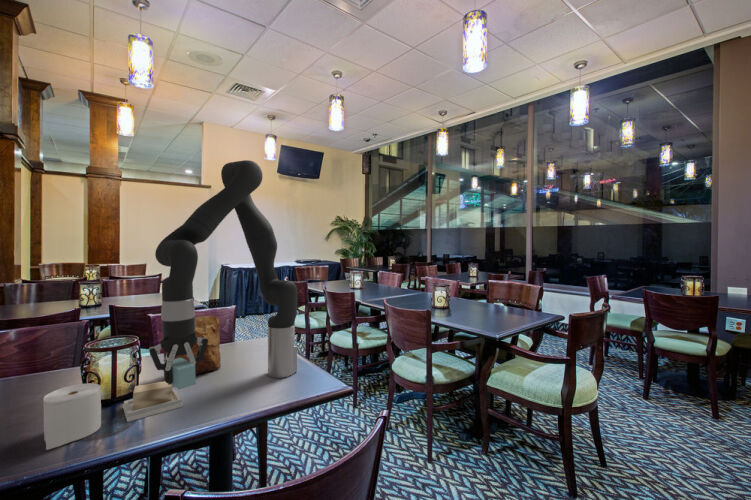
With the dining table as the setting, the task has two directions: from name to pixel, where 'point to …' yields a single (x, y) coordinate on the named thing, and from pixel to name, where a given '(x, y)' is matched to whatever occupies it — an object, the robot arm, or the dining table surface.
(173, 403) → the jig
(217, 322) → the stone
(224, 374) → the dining table surface
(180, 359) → the teal block
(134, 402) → the tan wooden block
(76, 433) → the toilet tissue
